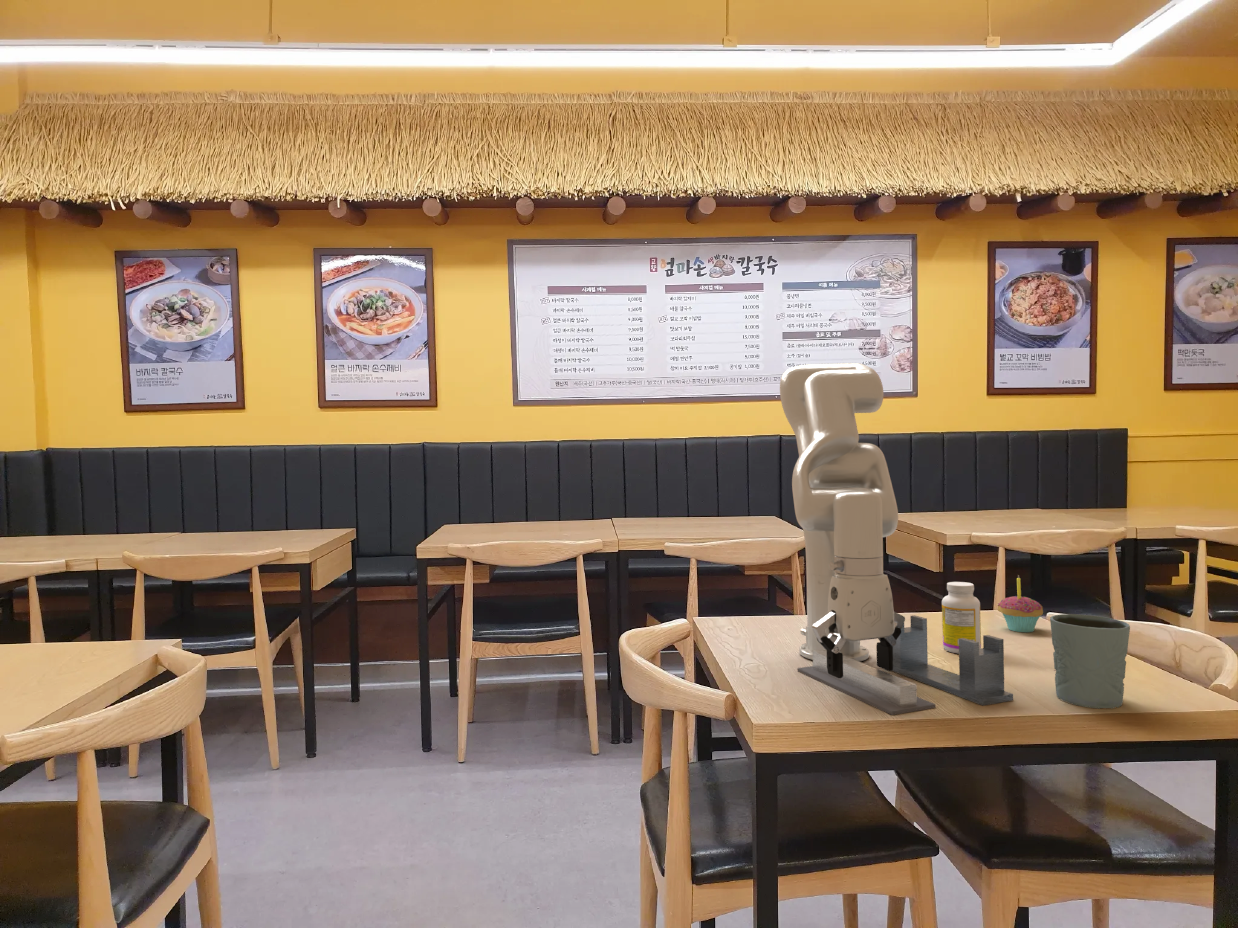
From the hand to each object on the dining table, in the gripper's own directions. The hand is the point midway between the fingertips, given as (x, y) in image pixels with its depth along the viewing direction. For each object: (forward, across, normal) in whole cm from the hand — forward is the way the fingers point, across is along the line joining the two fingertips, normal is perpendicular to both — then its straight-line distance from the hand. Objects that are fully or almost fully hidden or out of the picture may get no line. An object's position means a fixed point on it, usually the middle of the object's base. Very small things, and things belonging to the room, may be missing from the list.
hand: (860, 672), depth 118 cm
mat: (+2, 0, 0) cm, 2 cm away
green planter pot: (+3, +28, -18) cm, 33 cm away
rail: (+2, 0, 0) cm, 2 cm away
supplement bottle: (+3, +32, +11) cm, 34 cm away
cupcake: (+3, +56, +19) cm, 59 cm away
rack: (+2, +14, -3) cm, 15 cm away
